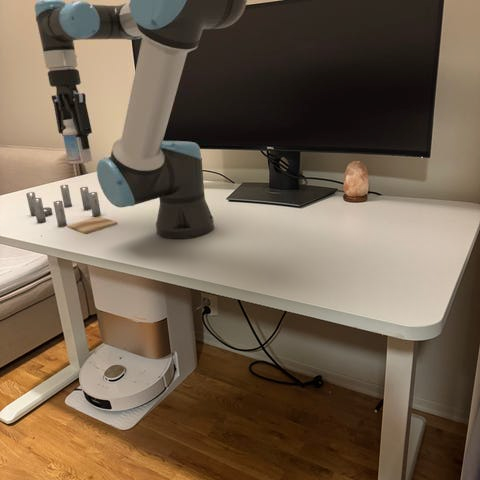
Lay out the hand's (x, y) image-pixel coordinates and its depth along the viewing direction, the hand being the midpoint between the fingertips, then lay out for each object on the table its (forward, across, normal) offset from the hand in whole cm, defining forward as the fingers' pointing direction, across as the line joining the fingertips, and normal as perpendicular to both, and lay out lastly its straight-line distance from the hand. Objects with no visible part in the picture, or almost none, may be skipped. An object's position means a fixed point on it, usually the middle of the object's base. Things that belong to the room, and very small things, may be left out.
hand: (80, 160), depth 125 cm
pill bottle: (+1, 0, 0) cm, 1 cm away
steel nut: (+18, +23, +3) cm, 29 cm away
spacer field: (+18, +17, -1) cm, 25 cm away
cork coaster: (+18, 0, 0) cm, 18 cm away
